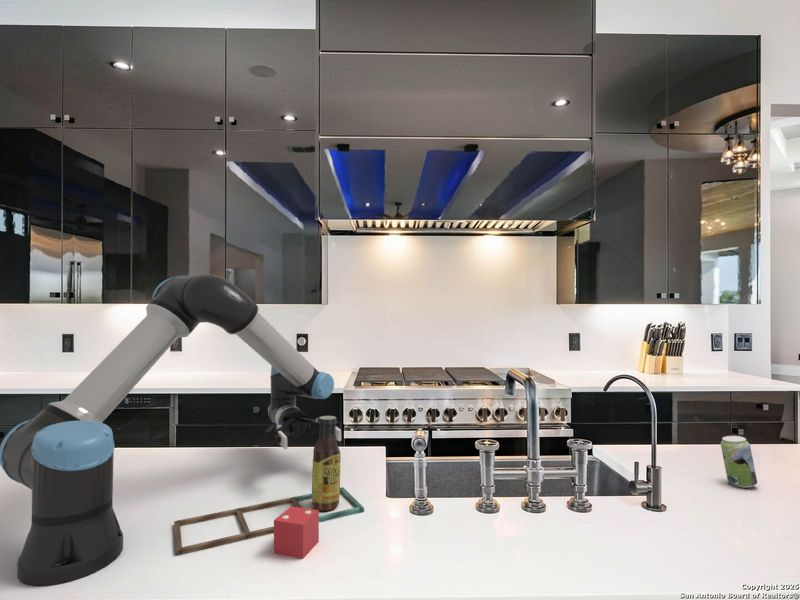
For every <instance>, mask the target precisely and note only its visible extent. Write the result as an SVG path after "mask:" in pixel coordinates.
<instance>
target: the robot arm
mask: <svg viewBox="0 0 800 600" xmlns="http://www.w3.org/2000/svg"><path fill="white" fill-rule="evenodd" d="M259 310H260V309H259V306H258V305H257V303H256V302H255V301H254V300H253V299H251V297H249V296H248V295H247V294H246V293H245V292H244V291H243V290H241V289H240V287H238V286H236V285H235V284H233V283H232V282H231V281H229V280H228V279H226V278H225V277H224V278H223V277H222V276H219V275H215V274H208V273H206V274H195V275H194V274H192V275H191V274H190V275H177V276H173V277H169V278H167V279H165V280H163V281H162V282H161V283H159V284H158V286H156V288H155V289H154V291H153V293H152V299H151V301H150V302H149V303H148V304H147V305H146V307H145V311H146V315H145V317H144V318H143V319H142V320H140V322H139V323H138V324H137V325H136V326H135V327H134V328H133V329H132V330H131V331H130V332H129V333H128V334H127V335H126V336H125V337H124V338H123V339H122V340H121V341H120V342H119V344H117V346H115V348H114V349H112V350H111V351H110V353H108V355H107V356H106V357H104V359H103V360H102V361H101V362H100V363H99V364H98V365H97V366H96V367H94V369H93V370H92V371H91V372H90V373H88V375H87V376H86V377H84V378H83V380H82V381H80V383H79V384H78V385H77V386H76V387H75V388H74V389H73V390H72V391H71V392H70V393H69V394H68V395H67V396H66V397H65V398H64V399H63V400H61V401H54V402H49V403H48V404H47V405H46V406H45V407H44V408H43V409H42V410H41V411H40V412H39V413H38V414H37V415H36V416H35V417H34V418H30V419H28V420H25V421H23V422H21V423H19V424H18V425H16V426H14V427H13V428H12V429H11V430H9V431H8V433H7V434H6V435H5V437H4V438H3V440H2V442H1V444H0V467H1V468H2V470H3V471H4V472H5V474H6V476H7V477H8V478H9V479H10V480H12V481H15V482H17V484H18V483H19V484H21V485H23V486H25V487H27V488H28V489H30V490H31V525H30V528H29V531H28V534H27V537H26V538H25V542H24V545H23V548H22V551H21V554H20V556H19V557H18V560H17V567H16V568H17V570H16V571H17V572H16V576H17V579H18V580H19V582H21V583H23V584H26V585H31V586H50V585H55V584H61V583H66V582H69V581H73V580H77V579H79V578H82V577H85V576H88V575H90V574H93V573H95V572H97V571H99V570H101V569H102V568H105V567H106V566H108V565H110V564H111V563H112V562H114V561H115V560H116V559H117V558H119V557H120V555H121V553H122V552H123V549H124V533H123V531H122V528H121V526H120V522H119V520H118V518H117V515H116V513H115V511H114V510H115V509H114V508H113V504H114V503H113V496H114V495H113V494H114V493H113V491H114V490H113V489H114V451H115V442H114V435H113V431H112V428H111V427H110V426H109V425H108V424H105V423H103V422H104V421H105V420H106V419H107V418H108V416H110V415H111V414H112V412H113V411H114V410H115V409H116V408H117V407H118V406H119V404H120V403H121V402H122V401H123V400H124V399H125V398H126V397H127V395H129V393H130V392H131V391H132V390H133V389H134V388H135V386H137V384H139V382H140V381H141V380H142V379H143V377H144V376H146V374H147V373H149V371H150V369H152V367H153V366H154V365H155V364H156V363H157V362H158V361H159V360H160V358H161V357H163V355H164V354H165V353H166V352H167V351H168V350H169V349H170V347H172V345H173V344H174V343H175V342H176V341H177V339H181V338H187V337H189V336H190V334H191V333H192V332H193V331H194V330H195V328H197V326H198V325H199V324H201V323H209V324H212V325H215V326H217V327H219V328H221V329H222V330H224V331H225V332H226V333H227V334H228V335H236V336H237V337H239V339H241V340H242V341H243V342H244V343H245V344H247V346H248V347H250V349H252V350H253V351H254V352H255V353H257V354H258V355H259V356H260V357H261V358H262V359H263V360H265V361H266V362H267V363H268V364H269V365H270V366H271V370H270V404H269V406H268V407H267V414H268V418H269V419H270V421H271V425H270V426H269V427H268V428H267V429H266V430H265V431H264V442H265V443H269V442H271V441H272V445H273V446H276V445H278V444H279V445H280V447H281V448H283V450H288V437H292V438H293V437H298V436H299V435H301V434H305V433H309V434H312V433H314V432H315V433H317V432H318V433H319V427H320V425H319V417H320V416H317V417H315V419H313V418H308V415H306V413H305V412H304V411H303V410H301V409H300V408H299V407H297V396H298V397H304V398H311V399H314V400H317V399H318V400H319V399H320V400H325V399H327V398H329V397H330V396H331V395H332V393H333V391H334V388H335V380H334V378H333V376H332V375H331V374H330V373H327V372H325V371H319V370H318V369H317V368H315V366H313V364H312V363H310V361H308V360H307V358H305V356H303V354H301V353H300V352H299V351H298V350H297V349H296V348H295V347H294V346H293V345H292V344H291V343H290V342H289V341H288V340H287V339H286V338H285V337H284V335H282V334H281V333H280V332H279V331H278V330H277V329H276V328H275V327H274V326H273V325H272V324H270V322H269V321H267V319H266V318H265V317H264V316H263V315H261V313H259ZM336 439H337V442H342V422H341V421H337V423H336Z"/></svg>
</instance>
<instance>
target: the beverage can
mask: <svg viewBox="0 0 800 600" xmlns="http://www.w3.org/2000/svg"><path fill="white" fill-rule="evenodd" d="M721 439H722V440H721V441H720V447H721V448H720V449H721V454H722V457H723V463H724V468H725V474H726V478H727V482H728V483H729V484H731V485H733V486H734V487H739V488H742V489H743V488H753V487H754V486H755V485H757V484H758V479H757V473H756V468H755V464H754V458H753V453H752V446H751V444H750V442H749V441H748V440H747V438H746V437H744V436H742V435H741V436H740V435H726V436H723V437H722V438H721Z"/></svg>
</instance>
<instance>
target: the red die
mask: <svg viewBox="0 0 800 600" xmlns="http://www.w3.org/2000/svg"><path fill="white" fill-rule="evenodd" d="M319 512H320V511H319V510H316V509H314V508H306V507H302V508H300V507H294V506H293V505H291V506H289V507H288V508H287V509H285V511H283V512H282V513H281V514H279V515H278V516H277V517H276V518H275V519H273V526H274V533H273V554H274V555H275V554H276V555H280V556H284V557H291V558H298V559H304V558H305V557H307V555H308V554H309V553H310V552H311V551H312V550H313V549H314V548H315V546H317V544H318V543H319V541H320V539H319V537H320V536H319V535H320V529H319V528H320V527H319V526H320V525H319V524H320V522H319V516H320V515H319V514H320V513H319Z"/></svg>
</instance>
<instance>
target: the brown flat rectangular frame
mask: <svg viewBox="0 0 800 600" xmlns="http://www.w3.org/2000/svg"><path fill="white" fill-rule="evenodd" d="M340 495H342V496H343V497H344V498H346V500H347V501H349V503H350V504H351V505H352V506H353V507H352V508H347V509H344V510H340V511H335V512H330V513H327V514H322V515H319V523H322V522H325V521H330V520H333V519H337V518H343V517H347V516H351V515H355V514H359V513H363V512H365V507H364V506H363V505H362V503H360V502H359V501H358V500H357V499H356V498H355V497H354V496H353V495H352V494H351V493H350V492H349V491H348V490H347V489H346V488H345V487H344V486H340ZM306 500H307V501H308V500H312V492H311V493H307V494H301V495H298V496H297V495H296V496H292V497H287V498H283V499H277V500H273V501H267V502H263V503H258V504H252V505H248V506H243V507H238V508H233V509H229V510H223V511H217V512H214V513H212V512H211V513H208V514H203V515H199V516H194V517H189V518H184V519H179V520H175V521H173V528H174V543H175V544H174V545H175V556H182V555H184V554H185V555H186V554H191V553H194V552H198V551H201V550H202V551H203V550H207V549H210V548H211V549H212V548H214V547H219V546H220V547H221V546H224V545H227V544H232V543H235V542H236V543H237V542H241V541H246V540H249V539H253V538H258V537H261V536H266V535H269V534H274V525H273V526H269V527H265V528H261V529H257V530H251V531H250V529H249V526H248V524H247V521H246V518H245V517H244V514H245V513H249V512H254V511H258V510H264V509H269V508H273V507H279V506H283V505H288V504H291V506H292V507H300V508H303V507H302V505H301V504H300V503H299V502H302V501H306ZM234 515H236V517H237V521H238V523H239V526H240V528H241V532H242V533H239V534H235V535H230V536H226V537H222V538H217V539H212V540H208V541H203V542H200V543H194V544H191V545H186V546H183V543H182V534H181V533H182V531H181V527H182V526H186V525H191V524H196V523H200V522H201V523H202V522H206V521H211V520H215V519H221V518H225V517H230V516H234Z"/></svg>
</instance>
